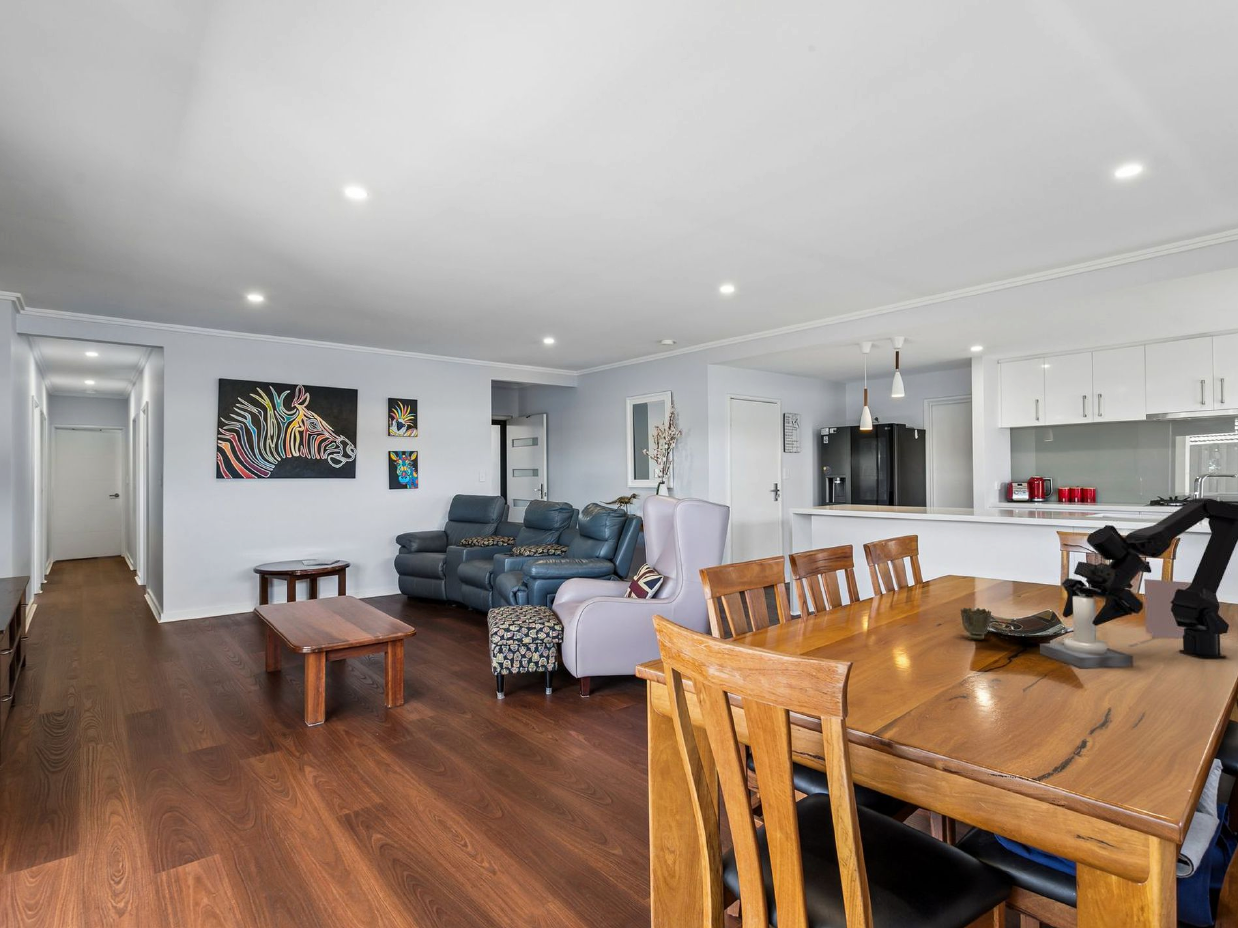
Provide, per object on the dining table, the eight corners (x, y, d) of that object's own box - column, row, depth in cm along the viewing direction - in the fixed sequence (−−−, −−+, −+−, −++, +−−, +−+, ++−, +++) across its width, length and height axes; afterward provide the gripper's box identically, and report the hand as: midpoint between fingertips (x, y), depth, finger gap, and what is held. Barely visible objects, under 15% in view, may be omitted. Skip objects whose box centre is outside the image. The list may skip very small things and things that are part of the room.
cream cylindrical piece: (1102, 646, 163) (1100, 595, 163) (1111, 655, 155) (1109, 601, 155) (1061, 643, 166) (1059, 593, 167) (1068, 652, 159) (1066, 599, 159)
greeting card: (1199, 638, 181) (1198, 582, 181) (1198, 643, 175) (1196, 586, 176) (1146, 631, 189) (1144, 578, 189) (1143, 636, 183) (1141, 581, 184)
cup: (962, 641, 180) (961, 611, 180) (959, 635, 187) (959, 606, 187) (993, 643, 177) (993, 613, 178) (989, 637, 184) (989, 608, 184)
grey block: (1088, 651, 168) (1088, 641, 168) (1133, 666, 155) (1132, 655, 155) (1040, 653, 167) (1040, 643, 167) (1081, 668, 154) (1080, 657, 154)
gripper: (1067, 546, 171) (1028, 590, 170) (1129, 554, 152) (1086, 604, 151) (1096, 576, 172) (1058, 620, 170) (1162, 588, 153) (1119, 638, 152)
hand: (1078, 620), depth 161 cm, fingers open, 9 cm apart
